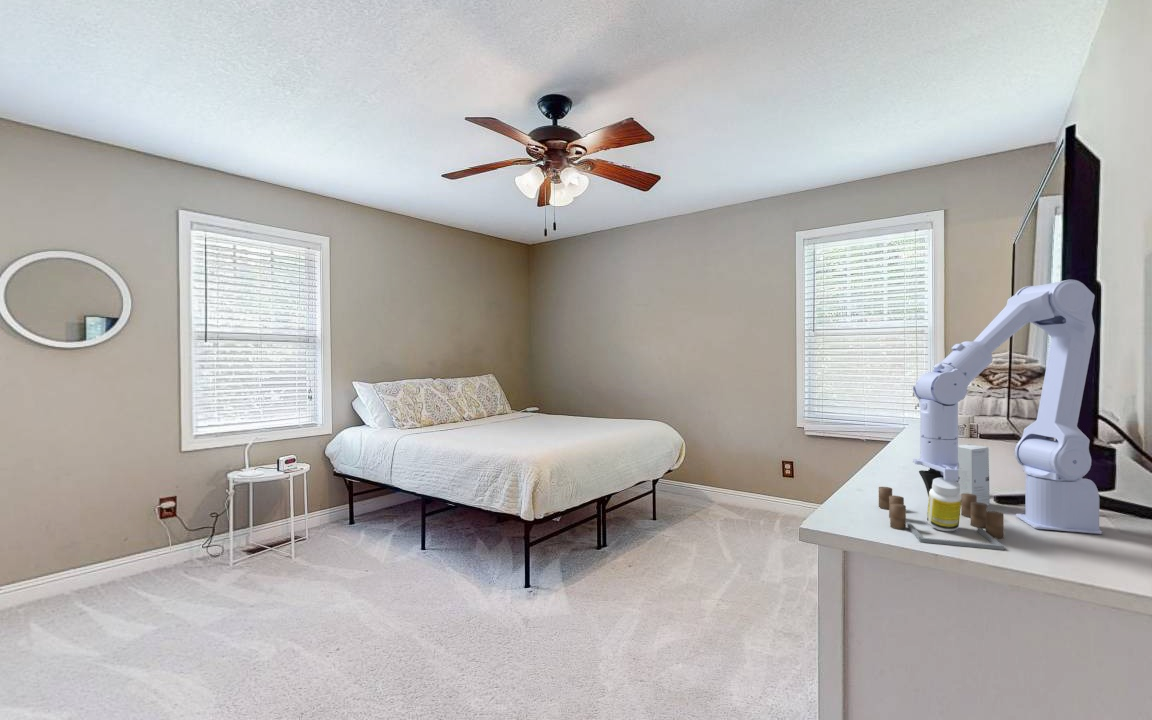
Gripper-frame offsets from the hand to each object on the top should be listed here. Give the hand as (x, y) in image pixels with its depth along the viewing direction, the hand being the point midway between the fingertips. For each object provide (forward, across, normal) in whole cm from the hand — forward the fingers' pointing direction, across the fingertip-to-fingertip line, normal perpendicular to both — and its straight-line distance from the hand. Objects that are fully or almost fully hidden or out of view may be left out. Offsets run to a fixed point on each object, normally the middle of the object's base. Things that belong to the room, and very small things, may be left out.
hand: (938, 511), depth 97 cm
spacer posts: (+3, -2, 0) cm, 3 cm away
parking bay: (+2, +7, 0) cm, 7 cm away
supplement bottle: (+2, +2, 0) cm, 3 cm away
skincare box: (+3, -17, +10) cm, 20 cm away
